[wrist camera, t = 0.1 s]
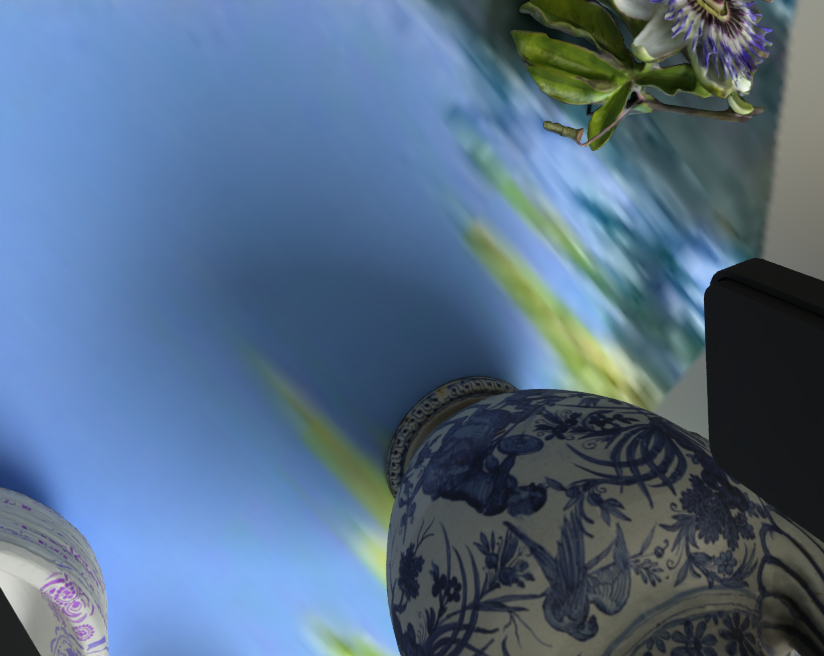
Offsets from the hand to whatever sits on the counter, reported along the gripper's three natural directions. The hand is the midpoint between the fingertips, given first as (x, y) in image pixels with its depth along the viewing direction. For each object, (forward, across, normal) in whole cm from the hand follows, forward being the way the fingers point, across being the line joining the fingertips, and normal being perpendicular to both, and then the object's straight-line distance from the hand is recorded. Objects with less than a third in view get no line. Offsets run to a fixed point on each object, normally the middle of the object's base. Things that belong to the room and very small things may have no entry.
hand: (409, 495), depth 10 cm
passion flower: (+31, -24, +1) cm, 40 cm away
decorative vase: (+31, -11, +23) cm, 40 cm away
